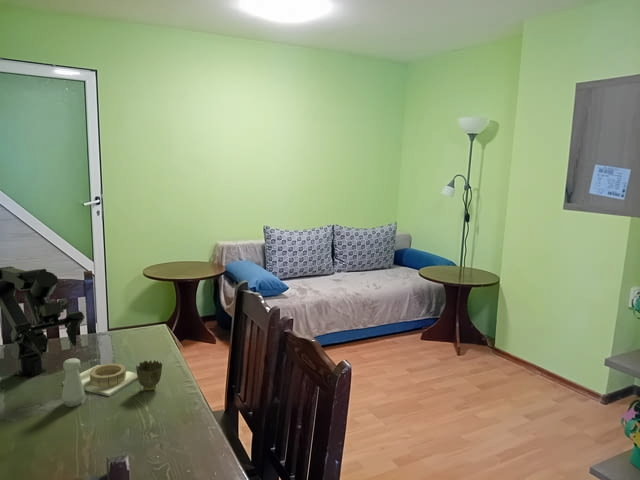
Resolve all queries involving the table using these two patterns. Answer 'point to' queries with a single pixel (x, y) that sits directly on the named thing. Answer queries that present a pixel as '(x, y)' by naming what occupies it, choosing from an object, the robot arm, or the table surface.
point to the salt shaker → (72, 383)
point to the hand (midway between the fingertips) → (59, 350)
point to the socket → (107, 378)
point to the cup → (149, 374)
